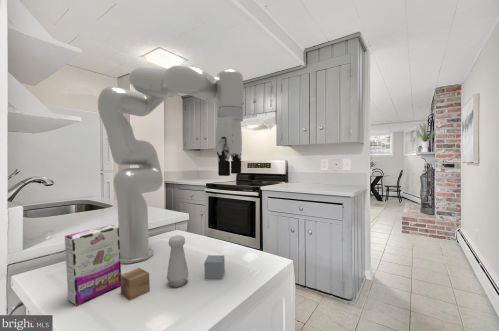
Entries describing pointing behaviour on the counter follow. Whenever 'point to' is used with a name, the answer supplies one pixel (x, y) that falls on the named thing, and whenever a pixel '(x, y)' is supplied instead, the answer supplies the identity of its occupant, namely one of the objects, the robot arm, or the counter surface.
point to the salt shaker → (177, 262)
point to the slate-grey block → (214, 267)
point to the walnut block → (135, 283)
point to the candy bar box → (92, 263)
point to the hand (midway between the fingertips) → (230, 174)
